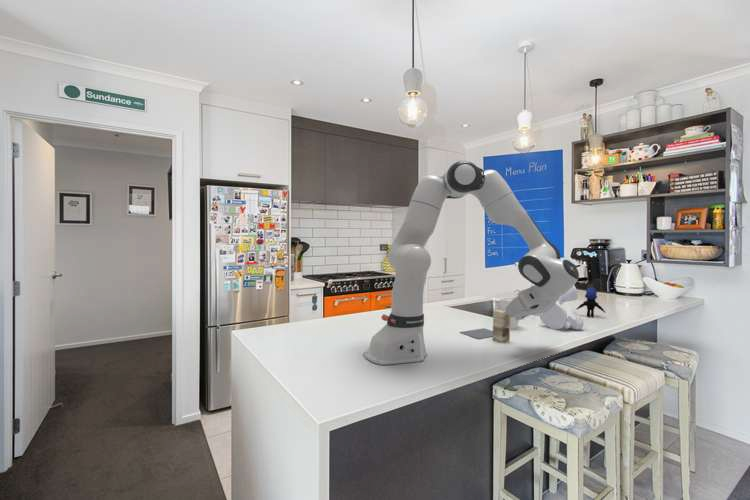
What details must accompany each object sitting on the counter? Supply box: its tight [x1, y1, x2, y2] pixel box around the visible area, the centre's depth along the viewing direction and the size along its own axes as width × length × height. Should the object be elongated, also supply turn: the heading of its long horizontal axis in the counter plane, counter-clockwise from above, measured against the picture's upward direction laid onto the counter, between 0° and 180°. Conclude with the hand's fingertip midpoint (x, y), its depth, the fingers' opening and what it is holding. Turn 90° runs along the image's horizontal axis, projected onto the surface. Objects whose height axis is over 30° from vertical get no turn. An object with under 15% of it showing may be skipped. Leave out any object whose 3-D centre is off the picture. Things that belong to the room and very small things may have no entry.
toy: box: [576, 287, 606, 318], centre depth 193 cm, size 13×6×15 cm, turn 58°
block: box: [492, 308, 511, 344], centre depth 149 cm, size 4×5×12 cm
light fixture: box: [538, 284, 584, 331], centre depth 171 cm, size 25×16×18 cm
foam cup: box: [498, 296, 519, 330], centre depth 169 cm, size 10×9×13 cm
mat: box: [459, 327, 493, 340], centre depth 159 cm, size 14×11×1 cm
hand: (518, 318), depth 142 cm, fingers closed
